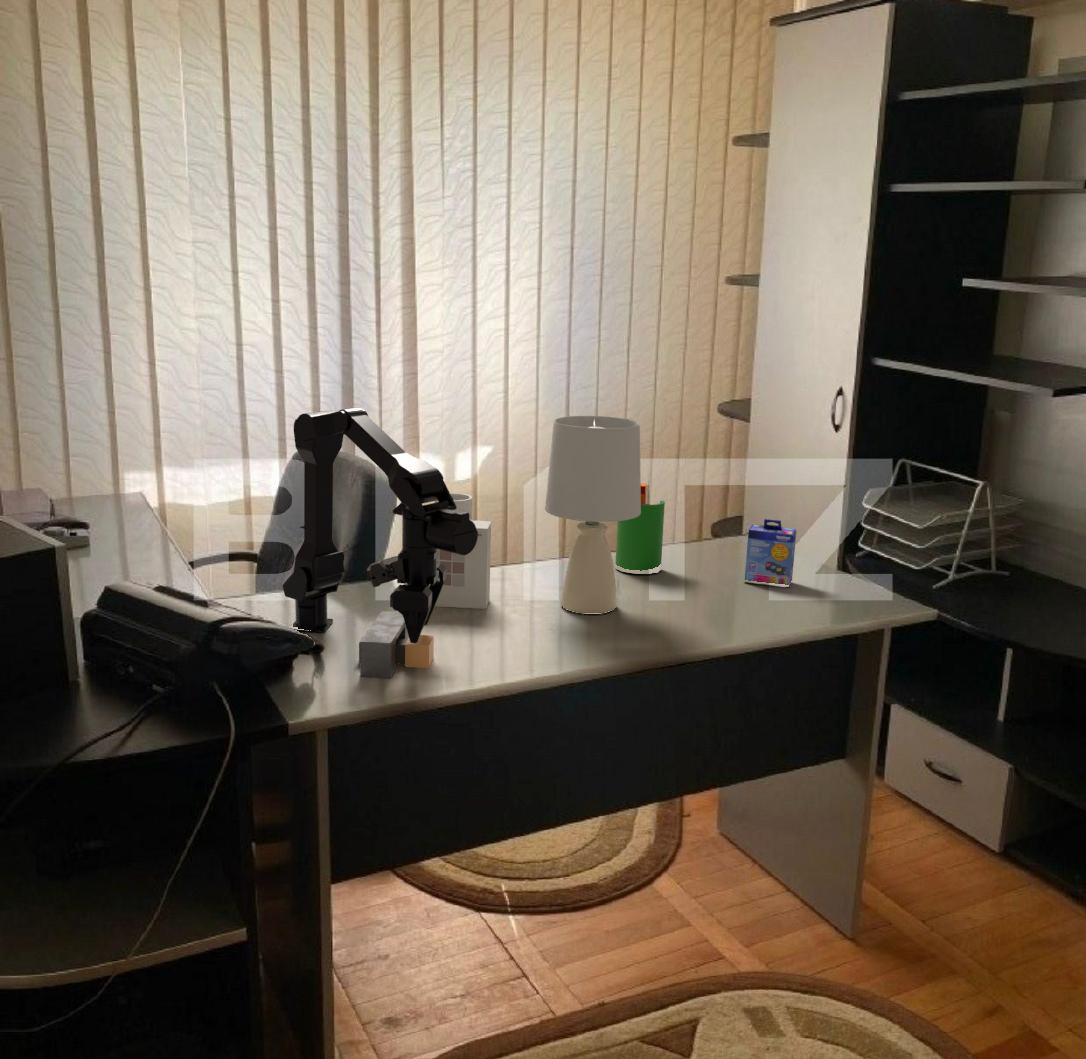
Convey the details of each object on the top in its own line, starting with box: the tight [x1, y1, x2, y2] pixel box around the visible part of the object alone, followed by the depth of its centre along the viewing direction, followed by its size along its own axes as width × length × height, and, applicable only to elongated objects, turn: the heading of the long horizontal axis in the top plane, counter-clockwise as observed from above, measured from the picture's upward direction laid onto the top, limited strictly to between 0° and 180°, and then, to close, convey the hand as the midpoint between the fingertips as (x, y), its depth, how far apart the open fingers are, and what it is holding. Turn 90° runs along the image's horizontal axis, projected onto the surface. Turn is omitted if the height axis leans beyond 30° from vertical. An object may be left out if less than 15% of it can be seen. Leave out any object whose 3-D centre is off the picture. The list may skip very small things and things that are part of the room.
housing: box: [359, 610, 409, 679], centre depth 190 cm, size 16×5×6 cm, turn 176°
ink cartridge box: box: [743, 518, 797, 586], centre depth 242 cm, size 10×6×14 cm, turn 72°
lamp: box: [544, 415, 642, 613], centre depth 219 cm, size 19×19×37 cm
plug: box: [358, 634, 435, 669], centre depth 190 cm, size 5×12×4 cm, turn 87°
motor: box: [615, 483, 666, 571], centre depth 248 cm, size 10×9×20 cm
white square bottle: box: [403, 492, 492, 610], centre depth 227 cm, size 16×19×20 cm
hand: (418, 633), depth 189 cm, fingers open, 9 cm apart
